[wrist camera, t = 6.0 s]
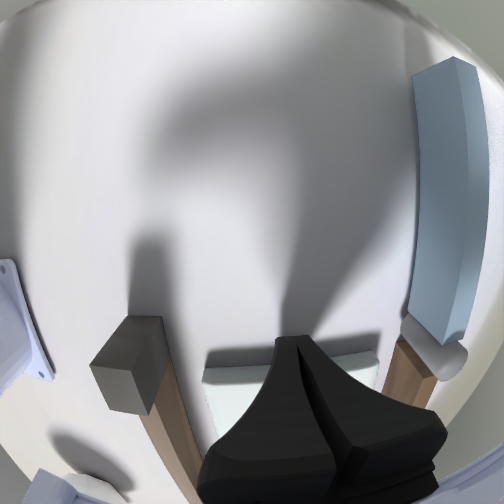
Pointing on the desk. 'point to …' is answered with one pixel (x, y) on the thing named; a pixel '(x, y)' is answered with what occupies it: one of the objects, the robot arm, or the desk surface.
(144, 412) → the bay
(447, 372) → the gate
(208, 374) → the external hard drive
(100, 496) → the white faceted ball
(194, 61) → the desk surface
